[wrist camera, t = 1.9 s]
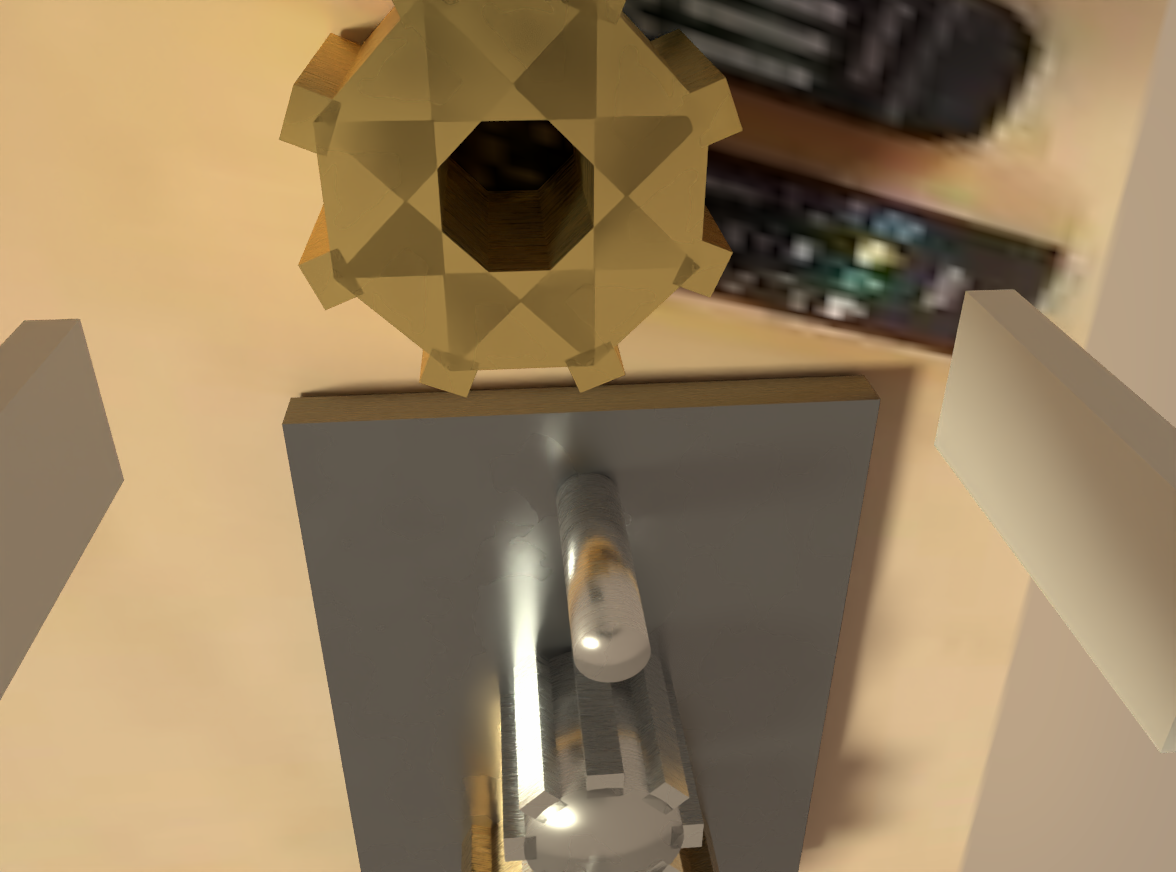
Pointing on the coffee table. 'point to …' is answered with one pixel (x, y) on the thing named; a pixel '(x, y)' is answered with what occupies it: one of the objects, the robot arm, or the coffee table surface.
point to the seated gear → (489, 868)
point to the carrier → (582, 613)
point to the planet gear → (521, 217)
